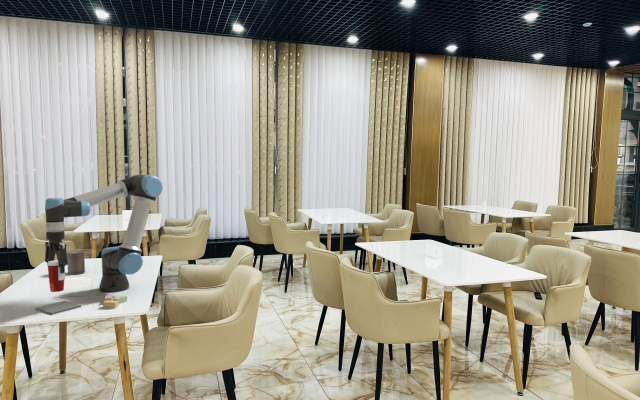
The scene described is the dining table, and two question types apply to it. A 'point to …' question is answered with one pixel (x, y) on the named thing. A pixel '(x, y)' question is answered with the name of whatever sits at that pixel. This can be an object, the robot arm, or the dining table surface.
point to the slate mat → (57, 307)
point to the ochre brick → (110, 304)
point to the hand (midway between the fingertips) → (56, 278)
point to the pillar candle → (76, 262)
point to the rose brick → (109, 298)
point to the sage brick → (120, 299)
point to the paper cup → (54, 277)
